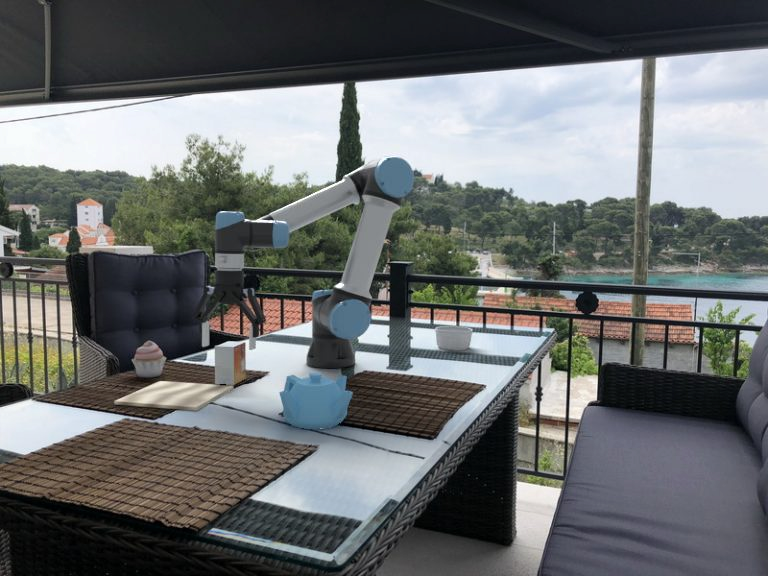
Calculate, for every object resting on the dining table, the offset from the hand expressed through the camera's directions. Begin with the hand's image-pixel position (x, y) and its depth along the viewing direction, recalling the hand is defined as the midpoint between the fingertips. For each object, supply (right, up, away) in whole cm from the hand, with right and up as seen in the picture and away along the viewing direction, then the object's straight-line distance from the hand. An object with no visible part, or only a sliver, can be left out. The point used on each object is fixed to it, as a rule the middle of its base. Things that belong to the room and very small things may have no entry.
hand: (228, 347), depth 172 cm
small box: (0, -10, +1) cm, 10 cm away
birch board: (-9, -11, -14) cm, 20 cm away
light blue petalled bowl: (+27, -13, -33) cm, 44 cm away
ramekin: (+67, -5, +54) cm, 86 cm away
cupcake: (-24, -9, +7) cm, 26 cm away
